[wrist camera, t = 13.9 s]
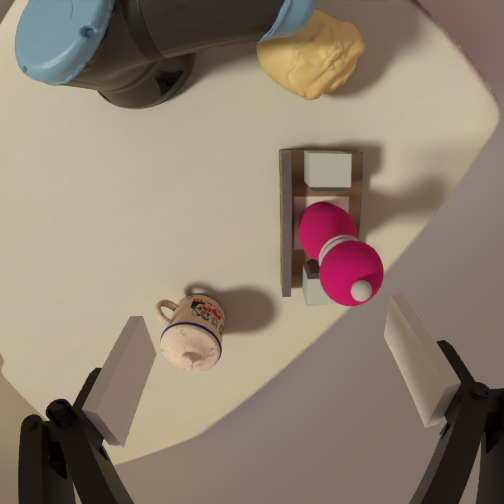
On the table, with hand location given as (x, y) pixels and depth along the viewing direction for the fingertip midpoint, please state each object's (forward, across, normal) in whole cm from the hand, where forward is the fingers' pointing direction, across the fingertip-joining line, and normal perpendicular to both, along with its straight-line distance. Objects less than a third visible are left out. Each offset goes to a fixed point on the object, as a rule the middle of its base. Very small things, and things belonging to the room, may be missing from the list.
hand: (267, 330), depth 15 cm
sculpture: (+30, +8, +19) cm, 36 cm away
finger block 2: (+27, +7, -12) cm, 31 cm away
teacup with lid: (+29, -13, -18) cm, 37 cm away
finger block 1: (+28, +8, +3) cm, 29 cm away
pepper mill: (+28, +8, -4) cm, 29 cm away
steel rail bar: (+27, +3, -4) cm, 28 cm away
